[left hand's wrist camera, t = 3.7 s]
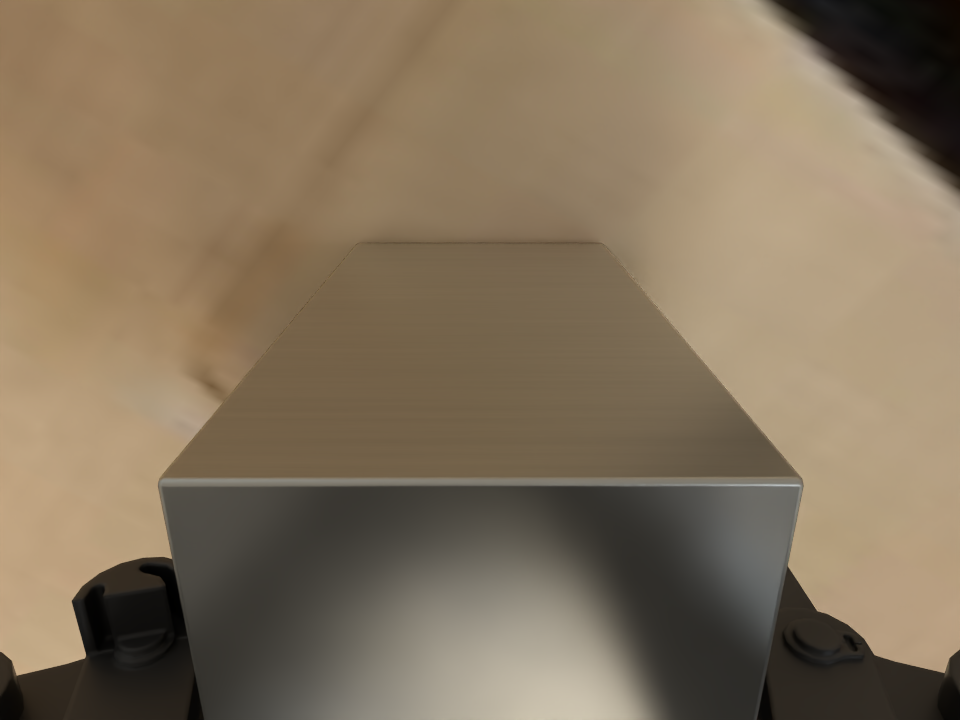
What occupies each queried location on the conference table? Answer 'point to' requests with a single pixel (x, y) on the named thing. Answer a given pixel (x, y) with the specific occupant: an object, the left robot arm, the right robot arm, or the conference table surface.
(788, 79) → the conference table surface
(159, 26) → the conference table surface
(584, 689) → the bar
